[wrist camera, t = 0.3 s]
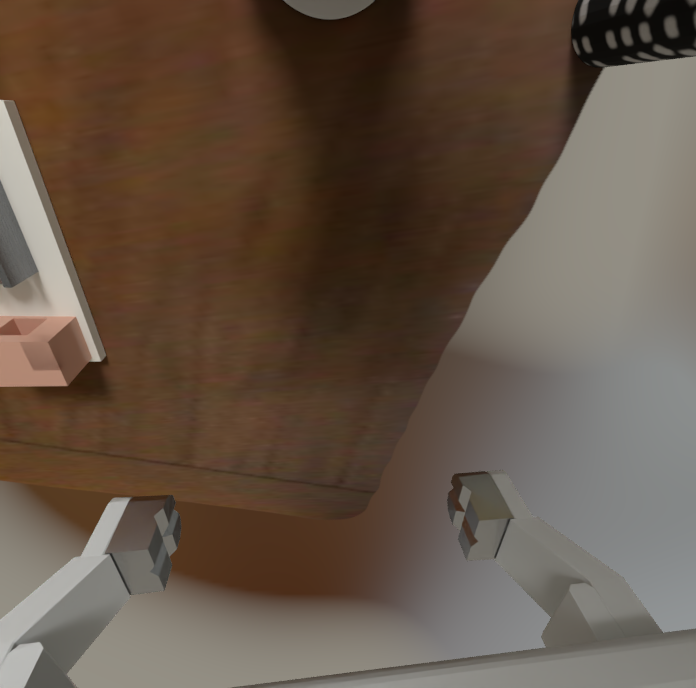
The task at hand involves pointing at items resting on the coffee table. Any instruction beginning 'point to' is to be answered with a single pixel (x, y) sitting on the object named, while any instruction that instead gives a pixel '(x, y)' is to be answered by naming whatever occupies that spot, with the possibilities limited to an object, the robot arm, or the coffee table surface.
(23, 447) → the coffee table surface
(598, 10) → the white-spotted black cylinder
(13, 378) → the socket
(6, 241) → the grey guide channel
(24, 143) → the base board
